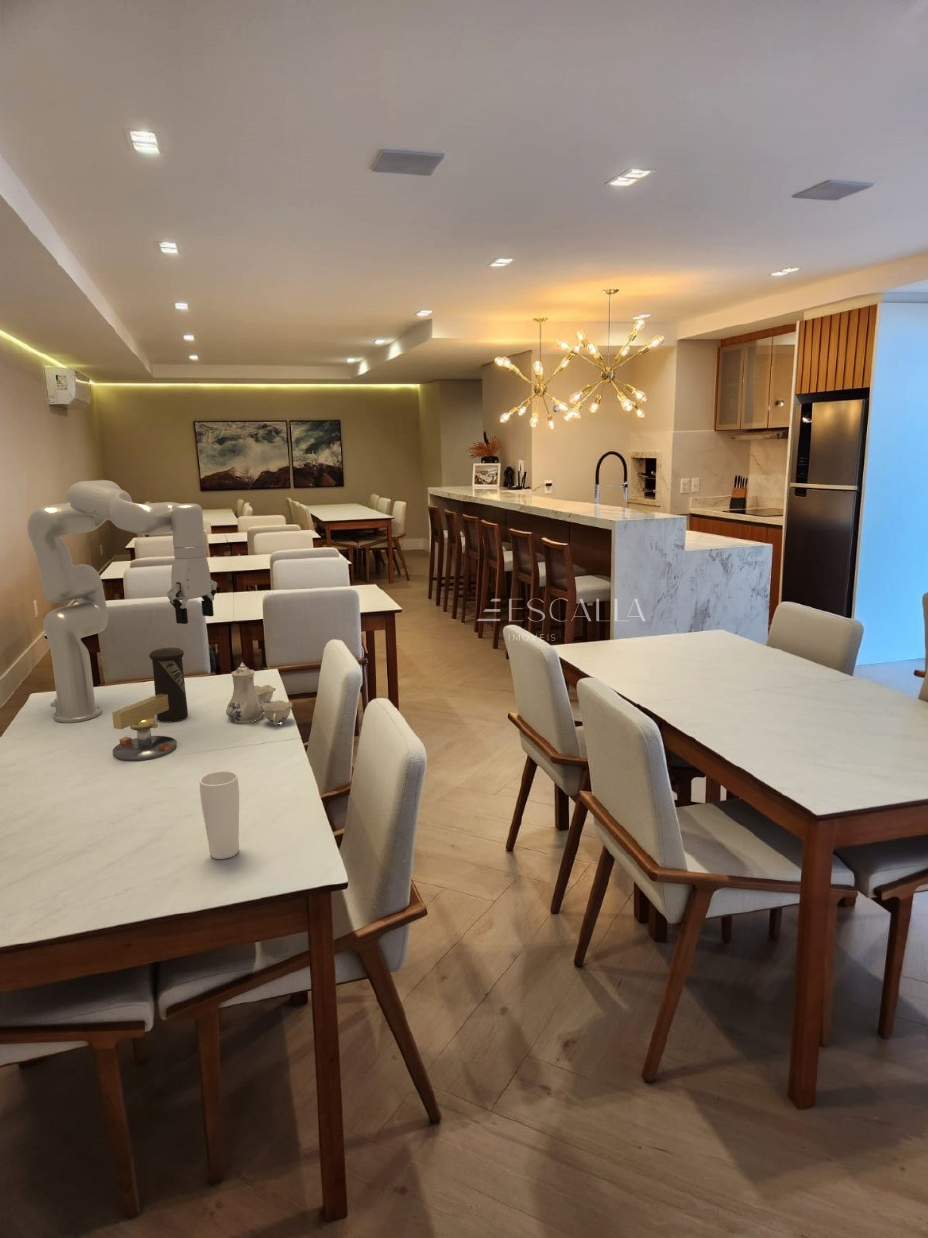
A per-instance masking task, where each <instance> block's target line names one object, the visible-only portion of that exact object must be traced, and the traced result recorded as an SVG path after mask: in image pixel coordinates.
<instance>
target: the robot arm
mask: <svg viewBox="0 0 928 1238" xmlns="http://www.w3.org/2000/svg"><path fill="white" fill-rule="evenodd" d="M132 499H133V498H132V496H131V494H129V492H127V491H126V490H124V489H122V488H121V487H120V485H119V484H117V483H116V482H115V481H111V480H107V479H99V480H84V481H83V480H82V481H78V482H75V483H73V484H72V485H71V486H70V487H69V488H68V490H67V492H66V501H67V502H66V503H54V504H47V505H43V506H40V507H37V508H36V509H35V510H33V511H32V512H31V514H30V515H29V518H28V520H27V533H28V537H29V539H30V542H31V545H32V547H33V550H34V553H35V557H36V562H37V567H38V572H39V573H38V574H39V575H40V582H41V587H42V591H43V594H44V596H45V598H46V599H47V600H48V601H49V602H51V603H63V602H64V603H65V602H69V601H75V600H77V603H76V604H70V605H66V606H61V607H57V608H55V609H53V610H51V611H50V612H47V614H46V615H45V617H44V619H43V630H44V633H45V636H46V638H47V641H48V646H49V649H50V654H51V661H52V662H51V663H52V669H53V670H52V671H53V677H54V684H55V693H56V698H54V699H53V701H51V703H50V705H49V706H50V707H51V708H55V710H56V711H55V712H54V713H53V714H52V719H53V720H54V721H55V722H57V723H77V722H84V721H88V720H92V719H94V718H97V717H99V716H100V715H101V714H102V713H103V710H102V707H101V706H98V705H96V701H95V700H96V699H95V693H94V692H95V691H94V680H93V673H92V664H91V658H90V657H91V656H90V653H89V650H88V648H87V646H86V645H85V644H84V643H83V642H82V638H85V637H89V636H92V635H97V634H99V633H102V632H104V630H105V629H106V628H107V626H108V622H109V615H108V614H109V612H108V608H107V603H106V596H105V591H104V585H103V582H102V578H101V576H100V574H99V572H98V570H97V569H95V568H94V567H93V566H91V565H90V564H85V563H80V564H74V563H73V558H72V554H71V550H70V548H69V547H68V545H67V543H66V542H65V541H64V540H63V539H62V538H61V537H62V536H70V535H72V536H73V535H78V534H87V533H90V532H91V533H92V532H93V531H96V530H97V529H98V528H100V527H101V526H102V525H103V524H104V523H105V522H107V521H110V522H111V523H112V525H115V527H117V528H118V529H119V530H122V531H127V532H129V533H134V534H137V535H148V536H149V535H154V534H161V533H162V534H164V533H171V532H172V545H173V556H174V559H173V560H172V562H171V571H170V572H171V576H170V577H171V580H170V582H171V583H170V584H171V588H170V590H168V592H166V596H167V599H168V600H169V603H170V604H171V605H172V608H173V609H175V610H174V611H175V622H176V624H180V625H187V624H189V617H188V609H187V607H186V605H187V603H188V601H189V600H195V599H198V598H201V599H202V600H201V601H200V602H201V612H202V616H204V617H214V615H215V613H214V602H213V601H215V596H216V594H217V593H216V592H217V591H216V589H217V587H218V582H217V581H216V580H215V581H214V579H212V578H211V572H210V571H211V570H210V567H209V566H210V565H209V561H208V558H207V555H206V554H207V553H206V550H207V549H206V541H205V531H204V530H205V528H204V518H203V517H204V515H203V509H202V506H201V505H200V504H198V503H178V502H174V501H165V502H151V503H136V502H133V500H132Z"/></svg>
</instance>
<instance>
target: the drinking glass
mask: <svg viewBox="0 0 928 1238" xmlns="http://www.w3.org/2000/svg"><path fill="white" fill-rule="evenodd" d="M238 779H239V778H238V775H237V773H235V772H232V771H227V770H222V771H215V772H214V771H213V772H210V773H207V774H205V775H203V776H202V777H201V778H200V779H199V794H200V804H201V810H202V815H203V821H204V824H205V825H204V826H205V827H204V828H205V831H206V836H207V843H208V851H209V856H210V857H211V858H213V859H216V860H227V859H230V858H232V857H234V856H236V855H237V854H239V851H240V839H239V837H240V836H239V835H240V828H239V827H240V789H239V788H240V786H239V780H238Z"/></svg>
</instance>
